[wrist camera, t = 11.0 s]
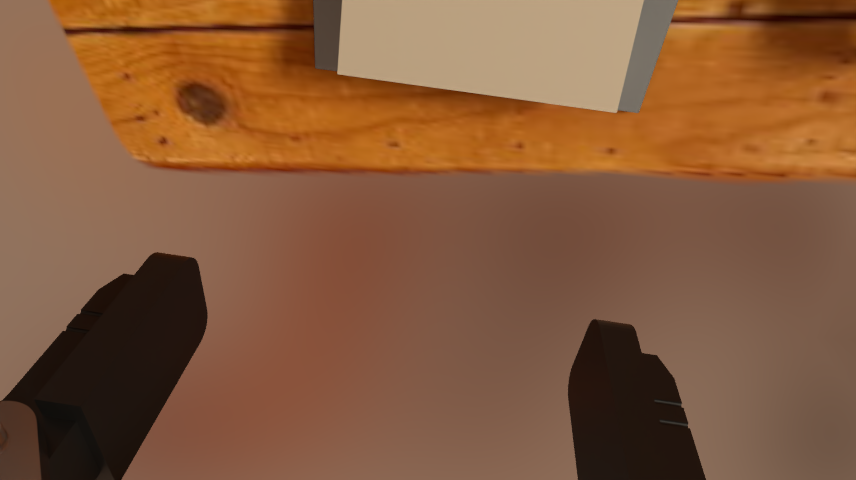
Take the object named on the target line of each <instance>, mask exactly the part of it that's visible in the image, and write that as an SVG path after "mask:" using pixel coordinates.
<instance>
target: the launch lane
mask: <svg viewBox="0 0 856 480" xmlns="http://www.w3.org/2000/svg"><path fill="white" fill-rule="evenodd" d="M677 2H678V0H313V6H314V42H315V68H317V69H324V70H331V71H337V74H339V75H347V76H354V77H361V78H368V79H375V80H383V81H390V82H397V83H404V84H412V85H419V86H426V87H433V88H440V89H448V90H455V91H462V92H469V93H477V94H484V95H491V96H498V97H505V98H513V99H520V100H527V101H534V102H542V103H549V104H556V105H563V106H571V107H578V108H585V109H592V110H599V111H607V112H614V113H617V110H621V111H628V112H635V113H639V110H640V107H641V105H642V102H643V99H644V96H645V93H646V90H647V88H648V85H649V82H650V79H651V76H652V73H653V70H654V68H655V65H656V62H657V59H658V56H659V53H660V50H661V48H662V45H663V42H664V39H665V36H666V33H667V31H668V28H669V25H670V22H671V19H672V16H673V13H674V11H675V8H676V5H677Z"/></svg>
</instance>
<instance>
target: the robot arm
mask: <svg viewBox="0 0 856 480" xmlns="http://www.w3.org/2000/svg"><path fill="white" fill-rule="evenodd" d="M206 325H207V307H206V302H205V297H204V292H203V286H202V282H201V276H200V271H199V266H198V263H197V261H196V259H194V258H191V257H185V256H178V255H171V254H165V253H158V252H157V253H153V254H152V255H150V256H149V257H148V259H147V260H146V261H145V262H144V263H143V265H142V266H141V267H140V268H139V270H138V271H137V272H136V274H135V275H129V274H123V275H121V276H119V277H118V278H116V279H114V280H113V281H111V282H110V283H108V284H107V285H105V286H103V287H102V288H100V289H99V290H98V291H97V292H96V293H95V294H94V295H93V297H92V298H91V299H90V300H89V301H88V302H87V304H86V305H85V306H84V307H83V308H82V309H81V313H80V314H77V315H76V316H75V317H74V319H73V320H72V321H71V322H70V323H69V324H68V326H67V329H66V331H62V333H61V334H60V335H59V336H58V337H57V338H56V339H55V341H54V342H53V343H52V344H51V345H50V346H49V348H48V349H47V350H46V351H45V352H44V353H43V355H42V356H41V357H40V358H39V359H38V360H37V362H36V363H35V364H34V365H33V366H32V367H31V369H30V370H29V371H28V372H27V373H26V374H25V376H24V377H23V378H22V379H21V380H20V381H19V383H18V384H17V385H16V386H15V387H14V388H13V390H12V391H11V392H10V393H9V394H8V395H7V396H6V397H5V398H4V399H3V400H2V401H0V480H121V479H122V477H123V475H124V474H125V472H126V470H127V469H128V467H129V465H130V464H131V462H132V460H133V458H134V457H135V455H136V453H137V451H138V450H139V448H140V446H141V444H142V443H143V441H144V439H145V438H146V436H147V434H148V432H149V431H150V429H151V427H152V425H153V423H154V422H155V420H156V418H157V417H158V415H159V413H160V411H161V410H162V408H163V406H164V405H165V403H166V401H167V399H168V397H169V396H170V394H171V392H172V391H173V389H174V387H175V385H176V384H177V382H178V380H179V379H180V377H181V375H182V373H183V371H184V370H185V368H186V366H187V365H188V363H189V361H190V359H191V358H192V356H193V354H194V353H195V351H196V349H197V347H198V346H199V344H200V342H201V340H202V338H203V335H204V332H205V329H206ZM568 400H569V408H570V416H571V425H572V433H573V442H574V449H575V458H576V467H577V475H578V480H706V478H705V475H704V472H703V469H702V466H701V463H700V459H699V456H698V453H697V450H696V446H695V444H694V440H693V437H692V434H691V431H690V429H689V428H688V421H687V418H686V415H685V412H684V408H682V407H681V404H682V402H681V399H680V396H679V392H678V389H677V386H676V383H675V380H674V378H673V376H672V375H671V374H670V373H669V371H668V370H667V368H666V367H665V366H664V364H663V363H662V362H661V361H660V359H659V358H658V356H657V355H650V354H644V353H642V352H641V349H640V345H639V341H638V338H637V334H636V331H635V329H634V327H633V326H632V325H630V324H623V323H616V322H610V321H603V320H596V319H594V320H592V321H591V323H590V324H589V327H588V329H587V331H586V334H585V336H584V339H583V341H582V344H581V346H580V348H579V351H578V354H577V356H576V358H575V361H574V363H573V366H572V368H571V372H570V377H569V384H568Z"/></svg>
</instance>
